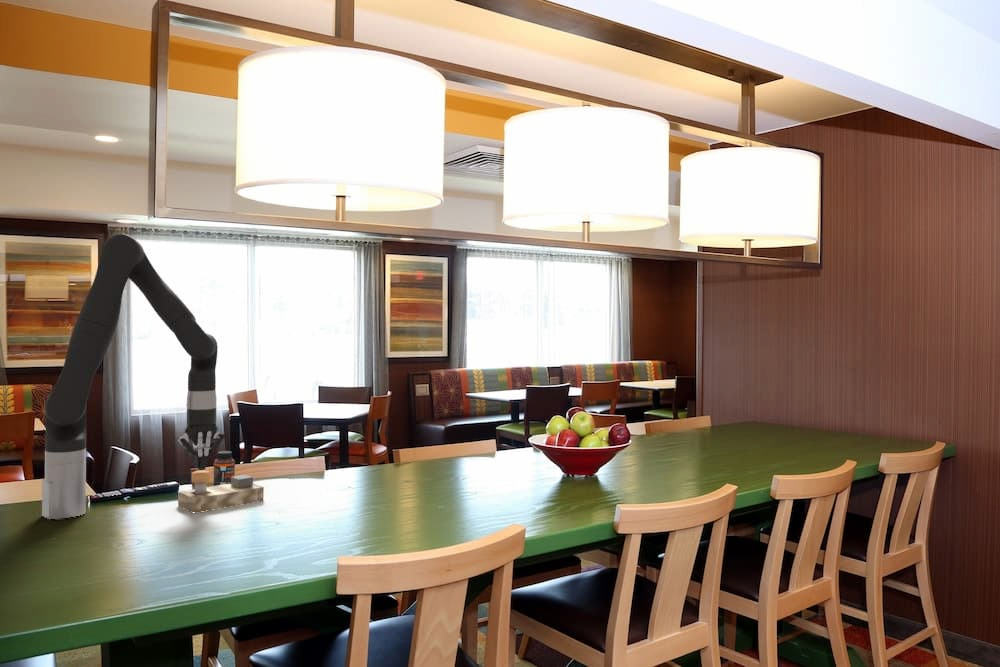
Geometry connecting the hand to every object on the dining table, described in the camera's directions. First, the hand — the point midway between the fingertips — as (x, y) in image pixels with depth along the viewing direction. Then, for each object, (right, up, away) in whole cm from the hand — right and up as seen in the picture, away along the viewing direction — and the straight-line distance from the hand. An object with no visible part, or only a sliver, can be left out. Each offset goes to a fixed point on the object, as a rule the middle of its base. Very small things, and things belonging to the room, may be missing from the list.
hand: (201, 469), depth 203 cm
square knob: (+8, -9, +9) cm, 15 cm away
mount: (+4, -10, +5) cm, 12 cm away
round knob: (0, -6, 0) cm, 6 cm away
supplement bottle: (-1, -10, +21) cm, 23 cm away
